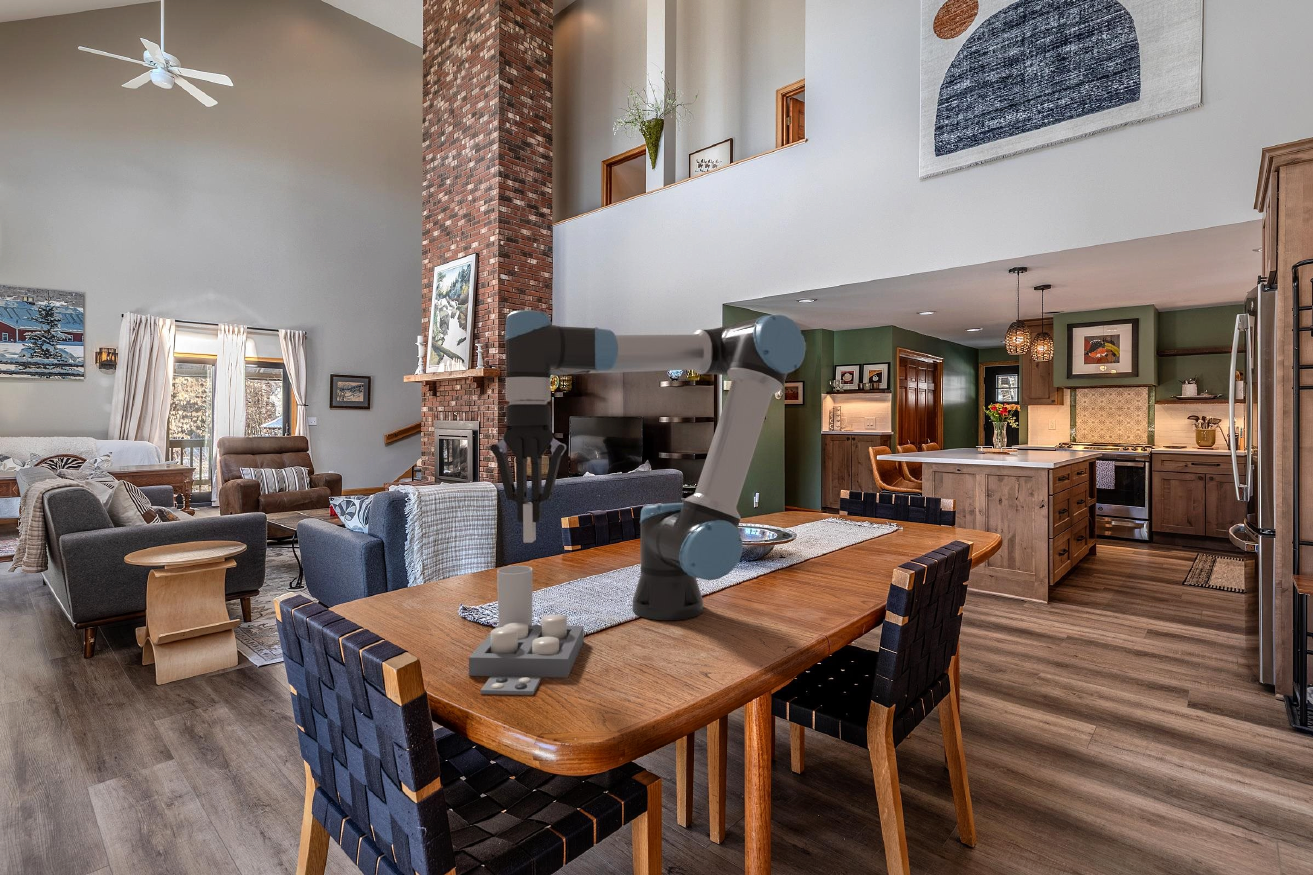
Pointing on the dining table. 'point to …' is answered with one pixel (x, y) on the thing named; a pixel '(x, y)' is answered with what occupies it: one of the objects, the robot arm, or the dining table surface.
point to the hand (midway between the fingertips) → (529, 540)
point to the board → (528, 657)
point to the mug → (515, 594)
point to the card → (511, 685)
